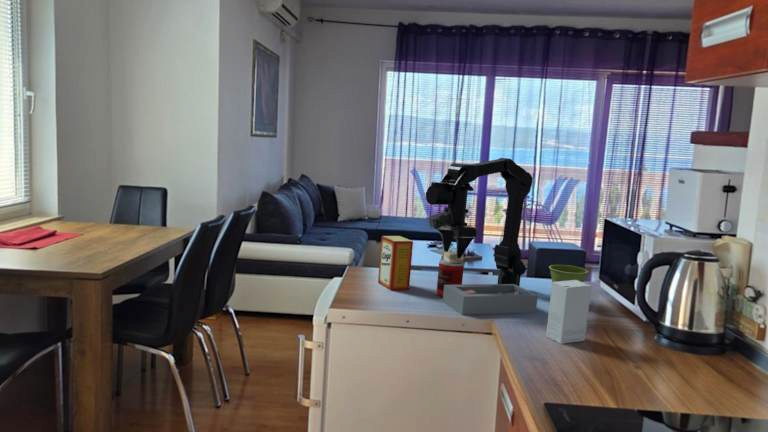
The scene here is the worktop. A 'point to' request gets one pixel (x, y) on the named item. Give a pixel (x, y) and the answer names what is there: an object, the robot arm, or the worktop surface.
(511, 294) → the ejector lever
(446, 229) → the robot arm
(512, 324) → the worktop surface
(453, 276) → the canned food
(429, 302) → the worktop surface
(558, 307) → the skincare box
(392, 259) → the baking soda box
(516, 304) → the pocket board
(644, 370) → the worktop surface
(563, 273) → the plant pot
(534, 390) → the worktop surface
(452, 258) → the beige block
